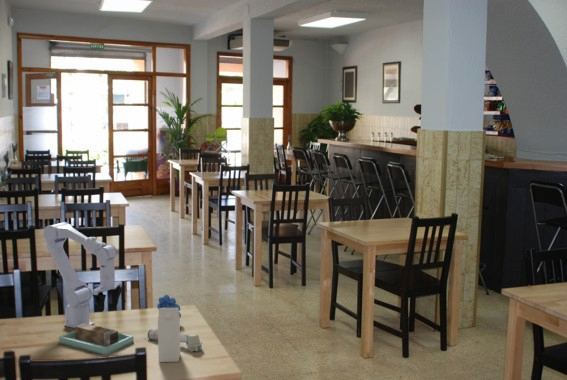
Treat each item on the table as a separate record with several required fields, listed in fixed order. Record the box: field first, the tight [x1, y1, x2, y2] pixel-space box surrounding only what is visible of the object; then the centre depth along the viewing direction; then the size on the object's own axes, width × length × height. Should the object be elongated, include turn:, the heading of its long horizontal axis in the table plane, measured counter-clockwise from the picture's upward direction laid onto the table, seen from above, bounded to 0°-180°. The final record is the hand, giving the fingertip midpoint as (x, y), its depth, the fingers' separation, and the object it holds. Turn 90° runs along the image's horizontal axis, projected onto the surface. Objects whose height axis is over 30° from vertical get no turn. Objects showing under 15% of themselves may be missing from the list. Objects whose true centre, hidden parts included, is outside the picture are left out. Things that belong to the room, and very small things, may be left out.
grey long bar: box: [147, 328, 203, 352], centre depth 245 cm, size 5×7×25 cm
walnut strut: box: [74, 323, 119, 347], centre depth 245 cm, size 18×5×5 cm, turn 62°
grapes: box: [156, 294, 182, 318], centre depth 267 cm, size 12×7×12 cm, turn 66°
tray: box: [58, 330, 135, 356], centre depth 246 cm, size 24×15×2 cm, turn 62°
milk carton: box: [157, 308, 181, 363], centre depth 230 cm, size 7×7×19 cm
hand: (108, 307), depth 259 cm, fingers open, 7 cm apart
